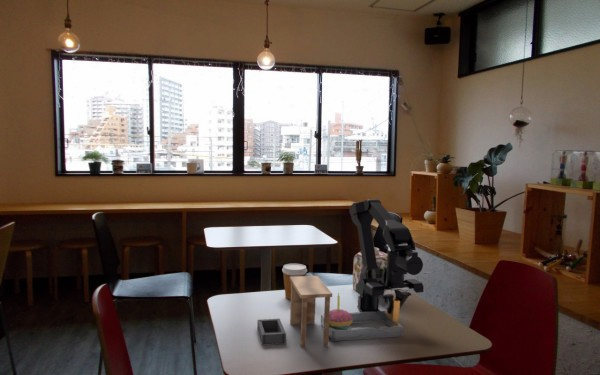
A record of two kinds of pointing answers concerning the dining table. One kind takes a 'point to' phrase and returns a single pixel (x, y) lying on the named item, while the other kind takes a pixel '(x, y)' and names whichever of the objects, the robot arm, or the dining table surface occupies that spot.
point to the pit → (271, 331)
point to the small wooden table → (308, 303)
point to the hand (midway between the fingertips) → (392, 313)
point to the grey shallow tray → (370, 332)
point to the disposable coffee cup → (292, 271)
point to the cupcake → (339, 317)
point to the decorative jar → (358, 265)
